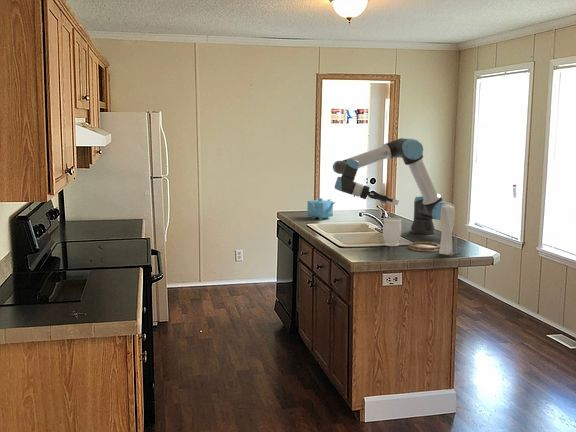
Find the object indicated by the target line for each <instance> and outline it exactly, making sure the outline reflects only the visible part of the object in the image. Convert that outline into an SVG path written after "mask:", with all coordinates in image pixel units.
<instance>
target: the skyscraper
mask: <svg viewBox="0 0 576 432" xmlns="http://www.w3.org/2000/svg"><path fill="white" fill-rule="evenodd" d="M443 205H444V206H443ZM443 205H442V208H441V220H440V232H441V236H440V243H439V245H440V250H439V251H438V254H439V255H445V256H454V255H456V254H458V253H457V248H458V247H457V245H458V244H457V242H458V238H457V233H455V234H454V238H452V237H453V234H452V233H453V229H454V227H455V225H454V224H455V219H456V218H455V217H456V209H455V207H456V206H455V205H454V204H453V203H451V202H446V203H444V204H443ZM445 205H446V206H445ZM453 240H454V241H453Z"/></svg>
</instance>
